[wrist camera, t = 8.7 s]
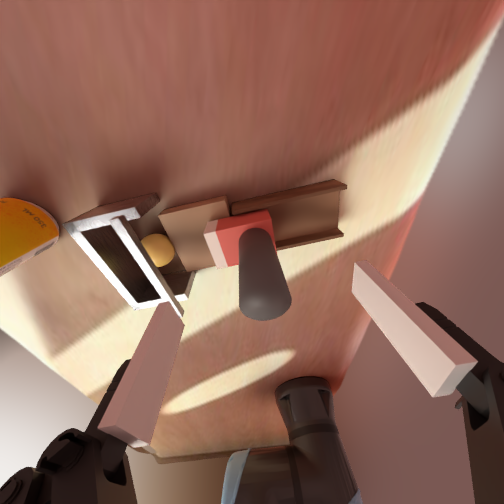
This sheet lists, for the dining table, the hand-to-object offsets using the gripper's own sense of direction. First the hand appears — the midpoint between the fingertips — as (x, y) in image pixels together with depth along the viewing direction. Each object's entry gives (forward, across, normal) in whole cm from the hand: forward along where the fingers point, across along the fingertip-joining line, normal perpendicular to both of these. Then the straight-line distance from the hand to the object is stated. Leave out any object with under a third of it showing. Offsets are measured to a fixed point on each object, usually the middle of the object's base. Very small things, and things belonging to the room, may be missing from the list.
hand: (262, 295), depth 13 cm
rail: (+12, -4, -1) cm, 13 cm away
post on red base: (+10, +1, -1) cm, 10 cm away
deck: (+12, +6, -1) cm, 13 cm away
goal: (+12, +13, -1) cm, 18 cm away
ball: (+10, +12, -1) cm, 15 cm away
